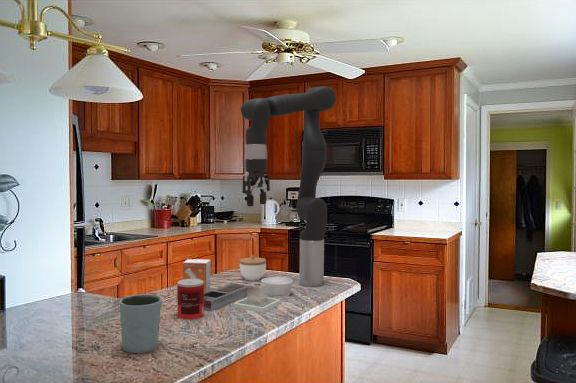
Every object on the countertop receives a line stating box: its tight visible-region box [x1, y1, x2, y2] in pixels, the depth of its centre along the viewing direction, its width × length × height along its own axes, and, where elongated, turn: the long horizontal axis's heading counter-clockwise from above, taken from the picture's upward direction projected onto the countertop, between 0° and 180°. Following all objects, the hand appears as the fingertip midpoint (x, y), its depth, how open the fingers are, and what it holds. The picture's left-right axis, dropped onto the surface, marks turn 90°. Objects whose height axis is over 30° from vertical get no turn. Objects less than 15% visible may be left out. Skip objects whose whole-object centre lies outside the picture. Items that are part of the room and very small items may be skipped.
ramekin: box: [260, 276, 294, 297], centre depth 173 cm, size 11×11×5 cm
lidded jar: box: [239, 255, 267, 282], centre depth 196 cm, size 11×11×9 cm
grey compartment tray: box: [204, 283, 248, 312], centre depth 161 cm, size 22×8×4 cm, turn 152°
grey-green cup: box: [118, 293, 163, 354], centre depth 122 cm, size 10×10×12 cm
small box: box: [182, 258, 212, 293], centre depth 167 cm, size 8×6×13 cm
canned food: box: [176, 279, 205, 320], centre depth 145 cm, size 8×8×11 cm
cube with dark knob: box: [246, 282, 268, 307], centre depth 155 cm, size 5×5×7 cm
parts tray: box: [232, 297, 282, 314], centre depth 156 cm, size 11×11×2 cm
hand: (256, 205), depth 169 cm, fingers open, 8 cm apart
